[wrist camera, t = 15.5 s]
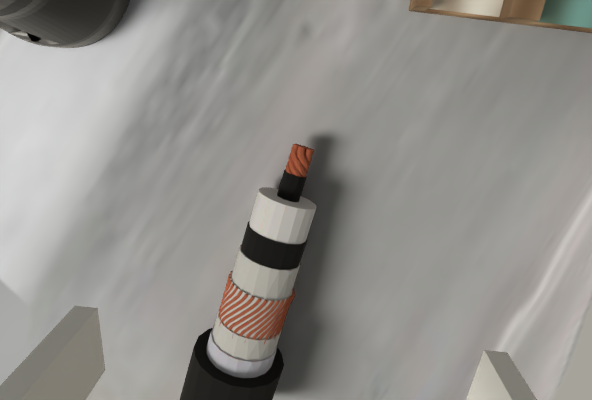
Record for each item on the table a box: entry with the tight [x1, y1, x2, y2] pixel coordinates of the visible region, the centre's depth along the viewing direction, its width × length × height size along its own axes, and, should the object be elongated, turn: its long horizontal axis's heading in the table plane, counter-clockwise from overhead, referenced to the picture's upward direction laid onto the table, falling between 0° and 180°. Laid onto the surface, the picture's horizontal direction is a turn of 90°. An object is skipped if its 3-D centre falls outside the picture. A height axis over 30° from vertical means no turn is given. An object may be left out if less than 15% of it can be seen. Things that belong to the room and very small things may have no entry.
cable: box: [180, 144, 316, 400], centre depth 40 cm, size 10×34×10 cm, turn 163°
